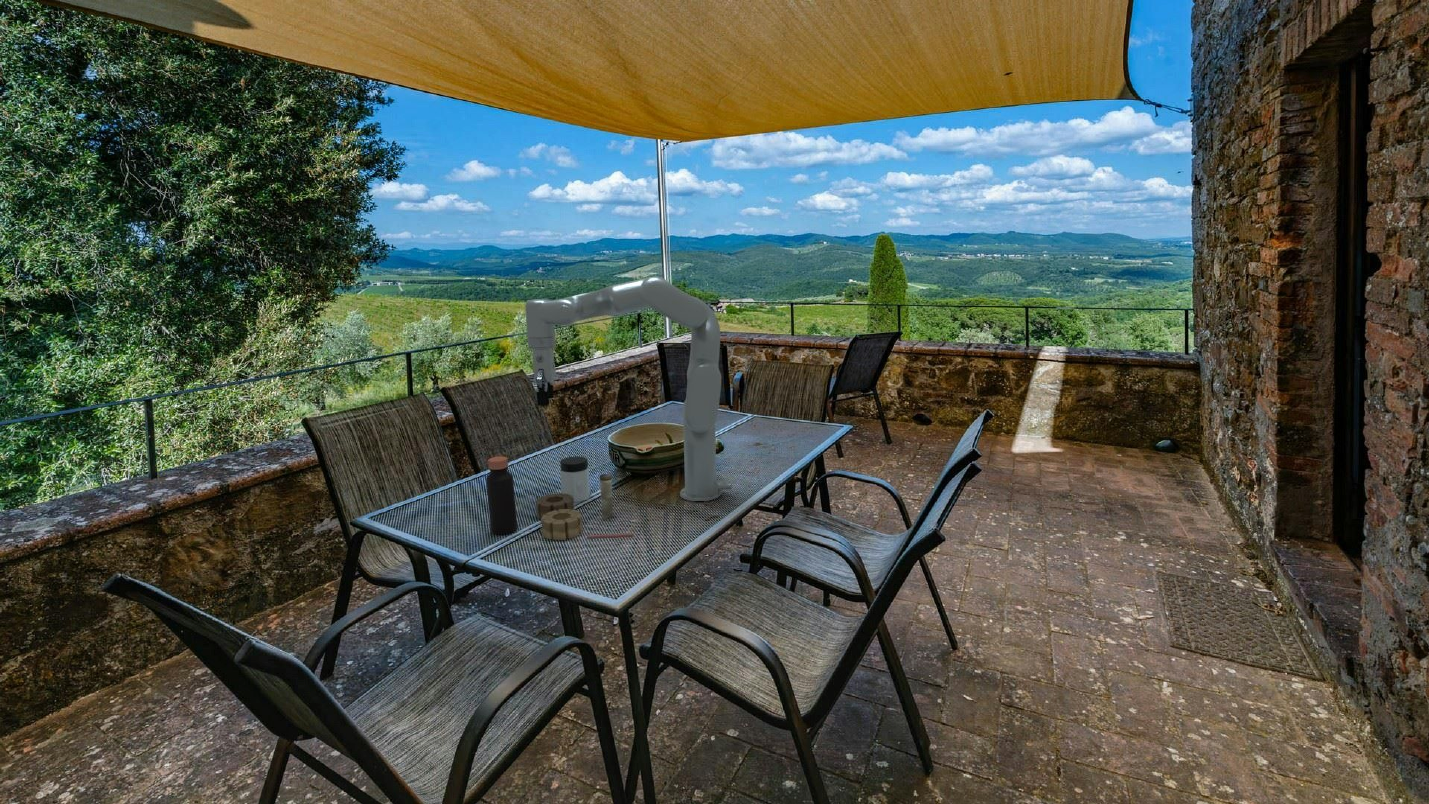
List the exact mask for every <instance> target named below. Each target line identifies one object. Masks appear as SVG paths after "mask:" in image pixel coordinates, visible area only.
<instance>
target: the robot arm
mask: <svg viewBox="0 0 1429 804" xmlns="http://www.w3.org/2000/svg"><path fill="white" fill-rule="evenodd" d="M524 307H525V321H526V333H527V347H528V350H532V367H533V369H532V371H533V379H534V383H535V384H536V401H537V402H536V403H537V404H536V405H537V406H549V405H550V399H553V398H554V385H553V382H555V380H556V376H557V374H556V367H555V365H556V364H555V356H554V355H555V354H554V349H556V337H555V336H556V335H555V334H556V333H555V326H562V327H563V326H565V327H567V326H571V325H573V324H575V323H577V322H579V321H584V320H589V319H592V318H598V317H604V316H611V317H612V316H613V317H614V316H621V315H625V314H630V313H634V312H638V311H639V312H640V311H643V310H647V309H652V310H654V311H655V312H657V313H659V314H660V315H661V316H664V317H666V318H668V319H669V320H671V321H673V322H674V323H676V324H678V325H680V326H681V327H683V328H687V329H690V333H691V335H690V336H691V339H690V350H689V351H690V353H689V361H688V367H687V370H686V371H687V372H686V378H687V383H686V395H685V396H686V397H685V400H684V402H683V404H682V423H683V453H684V454H683V456H684V457H683V458H684V460H683V461H684V462H683V463H684V488H682V489H681V490H680V491H679V493H680V495H679V496H680V497H681V498H682V499H684V500H686V501H689V502H695V501H704V502H709V501H710V500H711V501H714V500H716V499H715V498H717V499H719V498H720V497H721V496H722V494H721V493H722V490H733V489H732V487H733V486H732V485H733V484H732V482H727V481H719V480H718V477H717V451H716V446H717V445H716V444H717V443H716V423H717V420H718V417H719V407H720V399H721V388H722V374H721V370H720V368H719V361H720V348H721V346H720V345H721V327H720V324H719V323H720V322H719V320H718V318H717V315H716V313H715V312H714V310H713V309H712V308H711V307H710V306H709V305H708V304H707V303H705V301H703V300H701V299H700V298H698V297H696V296H693V295H691V294H689V293H687V292H685V291H683V290H682V289H680V288H678V287H677V286H675V285H673V284H672V283H670V282H669V281H667V280H666V279H665V278H663V277H662V276H657V275H654V276H653V275H652V276H650V277H644V278H638V279H636V280H631V281H627V282H622V283H617V284H613V285H609V286H606V287H604V288H601V289H598V290H594V291H589V292H585V293H581V294H580V293H579V294H576V295H571V296H568V297H567V296H566V297H563V298H561V299H555V300H554V299H553V300H550V299H548V298H547V299H546V298H544V299H543V298H541V299H540V298H539V299H538V298H537V299H529V300H527V301H526V302H525V304H524ZM720 495H721V496H720ZM719 496H720V497H719ZM718 497H719V498H718ZM713 499H714V500H713ZM711 501H710V502H711Z"/></svg>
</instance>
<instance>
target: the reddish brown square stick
mask: <svg viewBox="0 0 1429 804" xmlns="http://www.w3.org/2000/svg"><path fill="white" fill-rule="evenodd" d="M634 535H635V534H634V533H618V534H617V533H616V534H615V533H614V534H593V535H586V539H604V538H606V539H607V538H626V537H628V538H629V537H630V538H631V537H634Z"/></svg>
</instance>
